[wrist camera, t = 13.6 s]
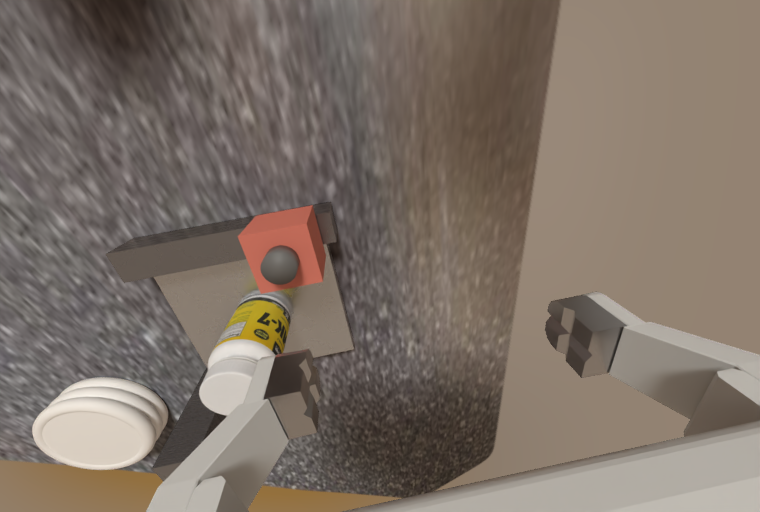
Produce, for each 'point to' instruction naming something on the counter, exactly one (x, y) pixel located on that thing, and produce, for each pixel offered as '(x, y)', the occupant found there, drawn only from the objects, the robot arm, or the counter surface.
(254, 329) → the supplement bottle
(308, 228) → the handle
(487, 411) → the counter surface
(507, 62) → the counter surface
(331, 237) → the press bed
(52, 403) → the coaster
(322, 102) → the counter surface
